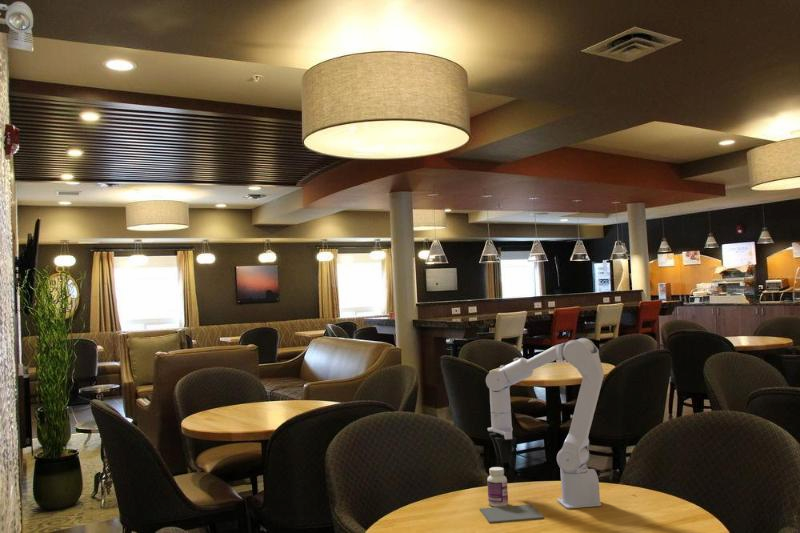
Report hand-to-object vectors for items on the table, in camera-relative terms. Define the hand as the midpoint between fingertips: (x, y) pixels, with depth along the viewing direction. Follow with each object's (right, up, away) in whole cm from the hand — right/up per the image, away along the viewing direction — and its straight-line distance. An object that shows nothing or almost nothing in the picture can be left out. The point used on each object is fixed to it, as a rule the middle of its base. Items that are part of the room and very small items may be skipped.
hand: (503, 460), depth 190 cm
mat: (-1, -9, -17) cm, 19 cm away
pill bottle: (-3, -10, -9) cm, 13 cm away
